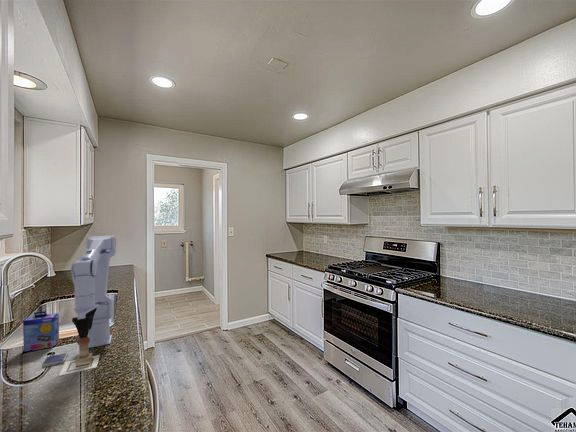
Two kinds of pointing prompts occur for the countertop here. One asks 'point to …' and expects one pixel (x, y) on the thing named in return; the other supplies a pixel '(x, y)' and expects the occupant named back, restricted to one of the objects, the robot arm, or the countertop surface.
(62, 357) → the ink pad
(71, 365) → the paper
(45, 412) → the countertop surface
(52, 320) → the ink cartridge box
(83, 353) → the stamp
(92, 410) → the countertop surface
